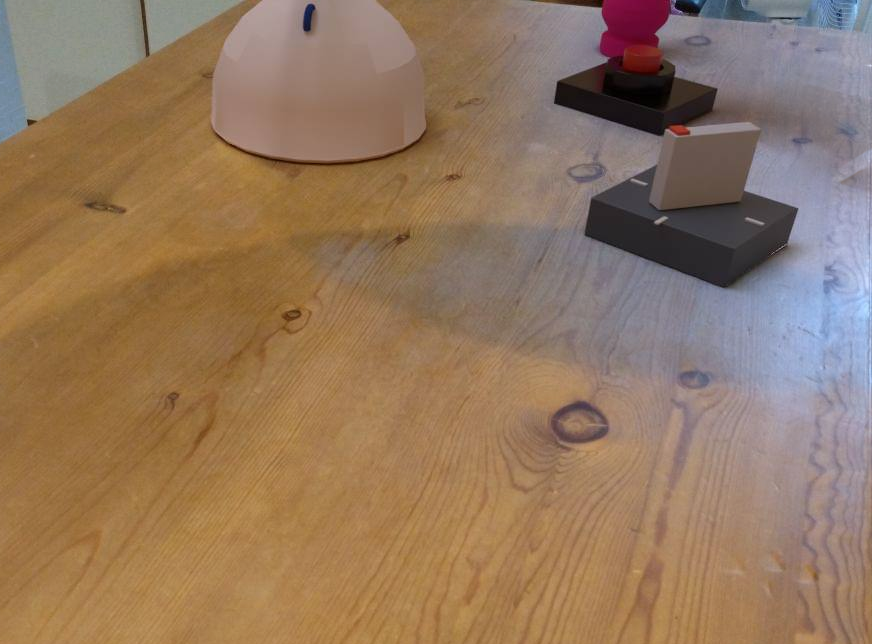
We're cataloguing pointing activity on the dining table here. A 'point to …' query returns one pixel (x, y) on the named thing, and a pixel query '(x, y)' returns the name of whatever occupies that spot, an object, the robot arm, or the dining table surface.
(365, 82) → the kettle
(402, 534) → the dining table surface
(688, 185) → the upright beige slab
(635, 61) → the button
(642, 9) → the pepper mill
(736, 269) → the dial base
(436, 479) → the dining table surface
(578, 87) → the block
